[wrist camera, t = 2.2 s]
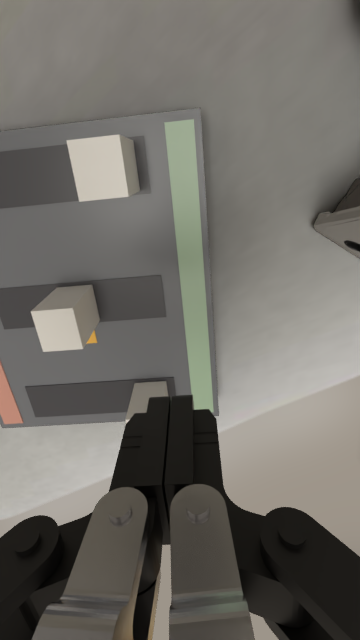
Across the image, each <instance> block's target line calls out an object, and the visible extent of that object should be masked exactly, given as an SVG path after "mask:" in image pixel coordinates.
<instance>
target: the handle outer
mask: <svg viewBox="0 0 360 640" xmlns="http://www.w3.org/2000/svg"><path fill="white" fill-rule="evenodd" d="M163 396H168V391H167V383H166V381H159V382H143V383H135V384H134V388H133V392H132V396H131V400H130V404H129V407H128V411H127V415H126V419H125V420H126V424H127V422H128V421H129V420H130V419H131V417H132V416H133V415H134V414H135V413H146V412H147V406H148V401H149V398H150V397H163Z"/></svg>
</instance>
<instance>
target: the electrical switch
mask: <svg viewBox="0 0 360 640" xmlns="http://www.w3.org/2000/svg"><path fill="white" fill-rule="evenodd" d="M314 228H315V230H316V231H318V232H319V233H321V234H322V235H324V236H325V237H327V238H329V239H330V240H332V241H333V242H335V243H336V244H338V245H339V246H341V247H342V248H344V249H346V250H347V251H349V252H350V253H352V254H353V255H355V256H356V257H358V258H360V178H359V179H356V180H355V181H354V183H353V185H352V186H351V188H350V190H349V191H348V193H347V195H346V196H345V197H344V198H343V200H342V201H341V202H340V203H339V205H338V207H337V208H336V210H335V212H334V213H330V212H323V213H319V215H318V217H317V219H316V221H315V224H314Z"/></svg>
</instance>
